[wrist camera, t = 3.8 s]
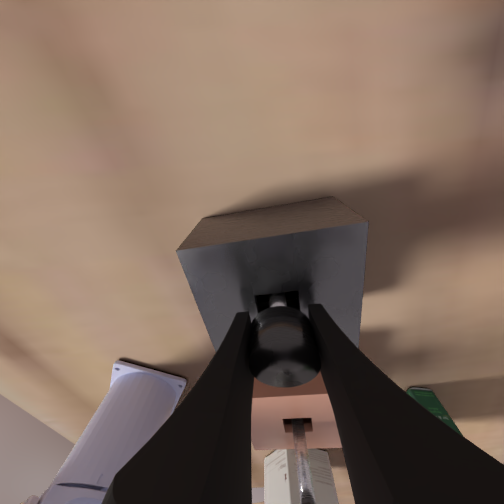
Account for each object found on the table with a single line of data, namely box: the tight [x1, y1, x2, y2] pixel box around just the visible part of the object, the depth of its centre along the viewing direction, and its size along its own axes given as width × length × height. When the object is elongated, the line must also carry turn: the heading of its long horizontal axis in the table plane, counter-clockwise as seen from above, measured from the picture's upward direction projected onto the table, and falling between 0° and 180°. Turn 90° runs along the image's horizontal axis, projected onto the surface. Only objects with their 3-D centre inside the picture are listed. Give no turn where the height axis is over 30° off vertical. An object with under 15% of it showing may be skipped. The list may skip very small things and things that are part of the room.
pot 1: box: [176, 197, 369, 352], centre depth 14 cm, size 9×9×5 cm
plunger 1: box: [249, 292, 321, 388], centre depth 12 cm, size 3×3×8 cm
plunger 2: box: [291, 418, 316, 504], centre depth 15 cm, size 3×3×8 cm
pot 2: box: [251, 372, 342, 450], centre depth 20 cm, size 9×9×5 cm
